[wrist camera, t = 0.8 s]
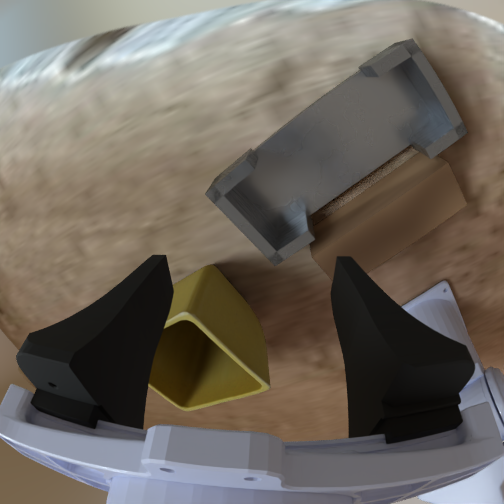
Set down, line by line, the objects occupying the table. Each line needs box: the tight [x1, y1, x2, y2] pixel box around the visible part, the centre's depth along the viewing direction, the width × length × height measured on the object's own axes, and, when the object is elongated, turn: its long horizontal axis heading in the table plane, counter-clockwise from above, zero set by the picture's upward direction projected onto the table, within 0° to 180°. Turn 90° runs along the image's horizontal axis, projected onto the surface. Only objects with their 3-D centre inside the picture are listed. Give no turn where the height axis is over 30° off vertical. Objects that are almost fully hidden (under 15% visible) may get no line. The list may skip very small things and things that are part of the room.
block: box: [310, 152, 467, 281], centre depth 20 cm, size 4×11×4 cm, turn 132°
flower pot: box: [148, 265, 271, 411], centre depth 24 cm, size 9×9×9 cm
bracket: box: [205, 39, 468, 266], centre depth 18 cm, size 7×16×4 cm, turn 131°
